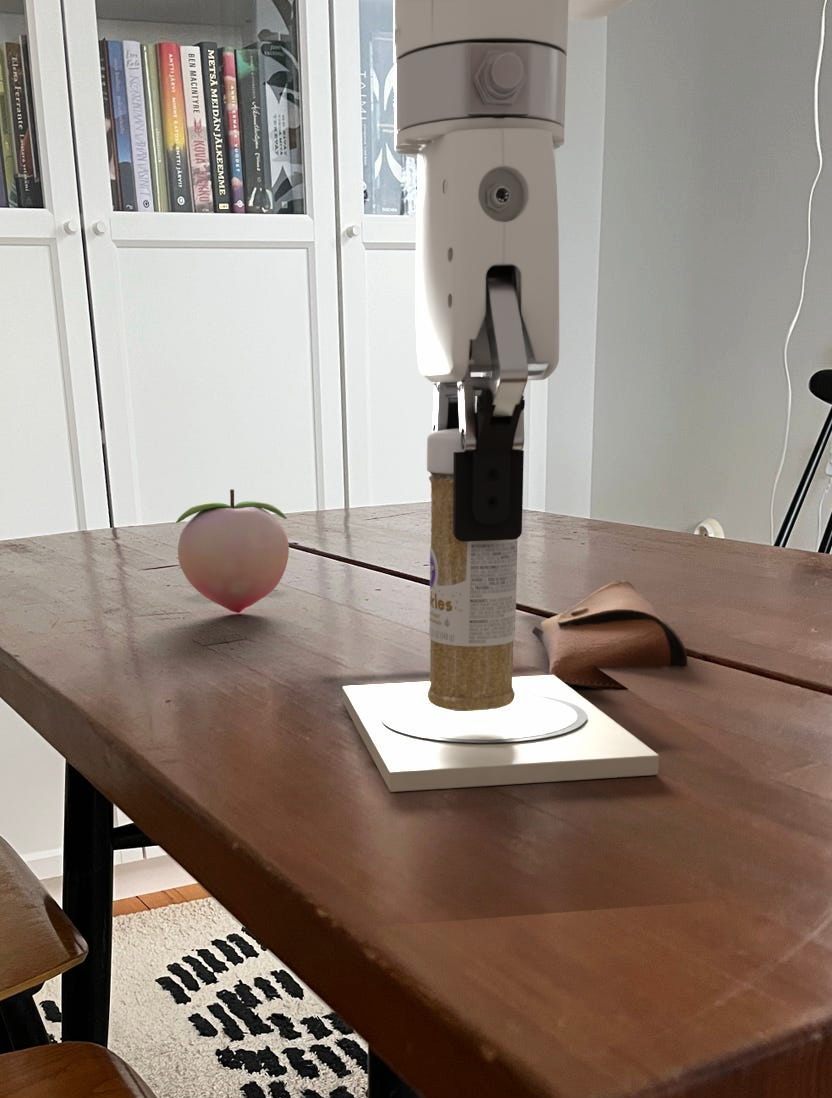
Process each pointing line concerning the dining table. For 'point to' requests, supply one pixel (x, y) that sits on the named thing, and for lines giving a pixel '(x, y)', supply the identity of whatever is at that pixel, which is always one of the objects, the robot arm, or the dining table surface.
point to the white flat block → (492, 738)
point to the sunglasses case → (608, 637)
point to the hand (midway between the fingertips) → (474, 529)
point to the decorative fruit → (233, 551)
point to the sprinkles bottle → (467, 600)
